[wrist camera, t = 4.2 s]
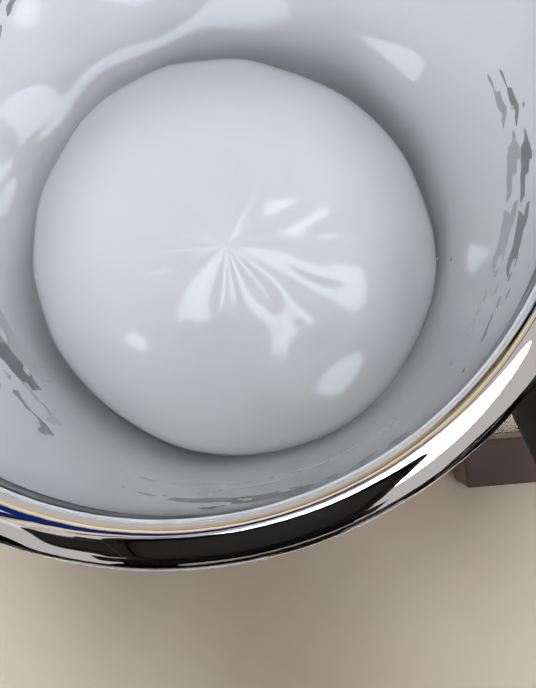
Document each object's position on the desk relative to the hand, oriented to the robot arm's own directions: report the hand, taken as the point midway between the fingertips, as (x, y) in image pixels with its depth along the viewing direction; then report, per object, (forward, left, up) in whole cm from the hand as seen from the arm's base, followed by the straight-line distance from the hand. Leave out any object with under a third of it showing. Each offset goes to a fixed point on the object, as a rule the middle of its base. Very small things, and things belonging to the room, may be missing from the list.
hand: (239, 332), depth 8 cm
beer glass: (+1, +1, -10) cm, 10 cm away
